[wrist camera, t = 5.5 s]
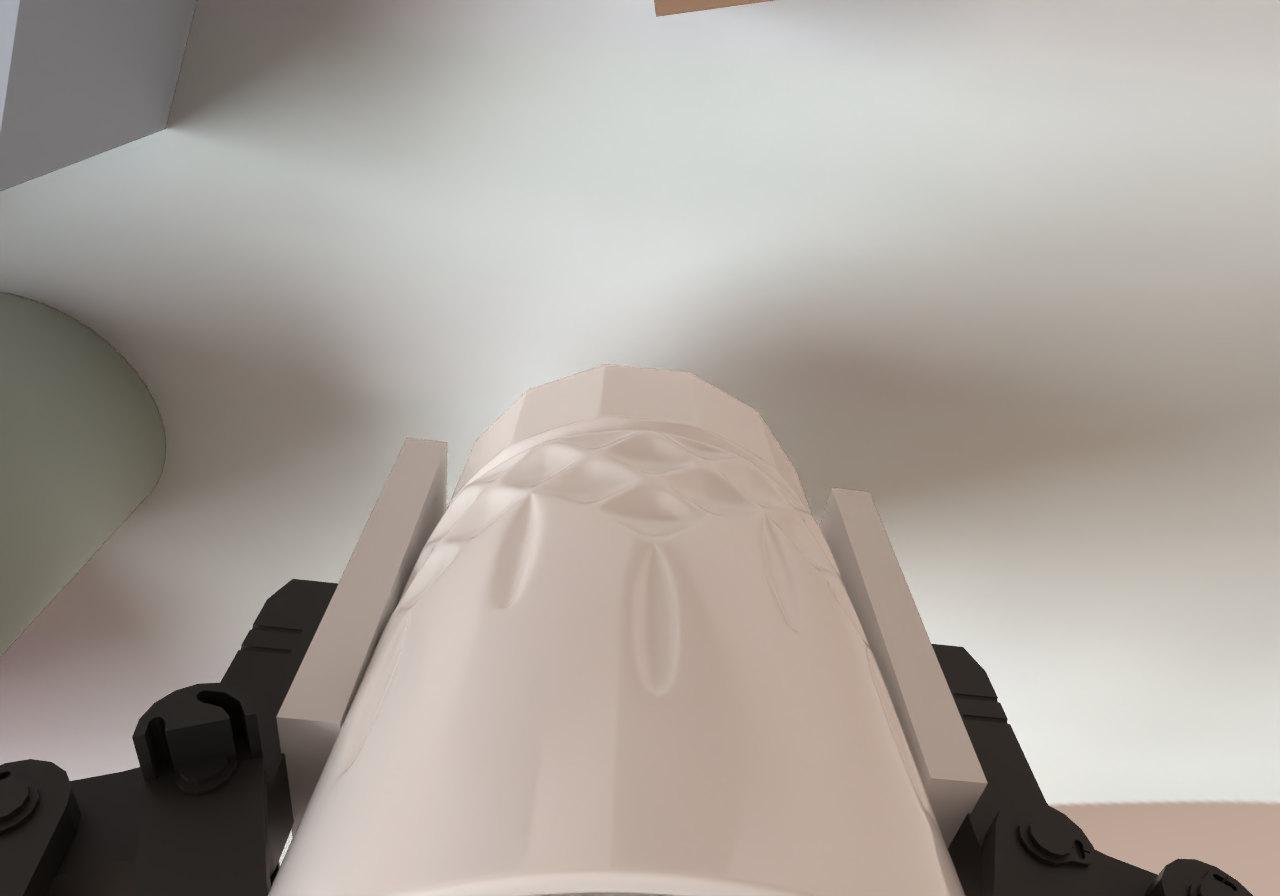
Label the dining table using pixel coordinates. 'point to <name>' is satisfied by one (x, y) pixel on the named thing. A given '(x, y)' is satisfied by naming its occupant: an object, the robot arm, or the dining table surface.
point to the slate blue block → (84, 78)
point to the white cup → (622, 679)
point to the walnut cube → (695, 5)
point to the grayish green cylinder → (64, 453)
